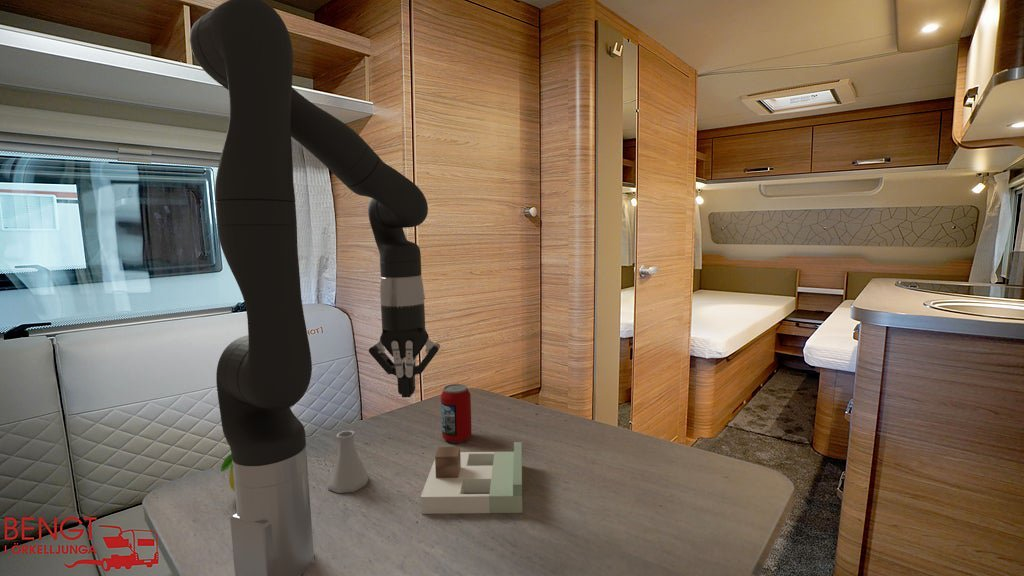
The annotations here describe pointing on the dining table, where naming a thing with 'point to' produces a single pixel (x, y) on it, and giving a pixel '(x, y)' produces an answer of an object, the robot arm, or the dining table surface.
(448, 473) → the walnut block
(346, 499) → the dining table surface
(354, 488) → the flask
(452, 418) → the beverage can
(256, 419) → the robot arm
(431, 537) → the dining table surface
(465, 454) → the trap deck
